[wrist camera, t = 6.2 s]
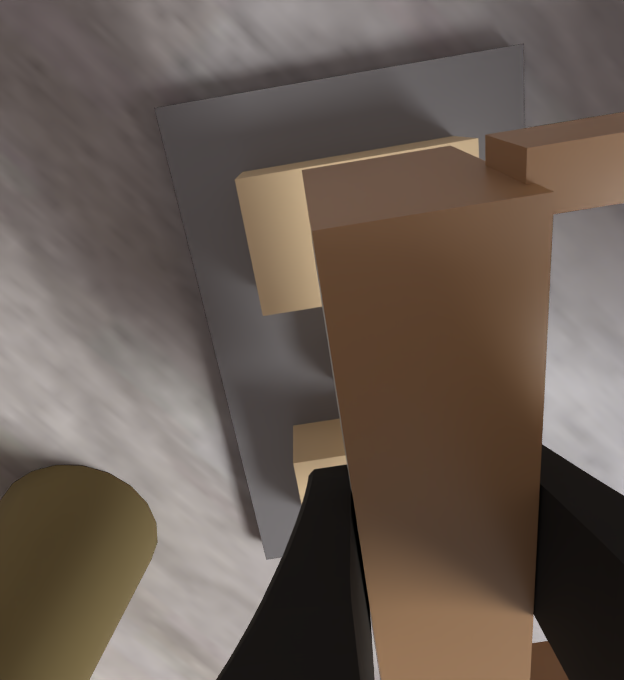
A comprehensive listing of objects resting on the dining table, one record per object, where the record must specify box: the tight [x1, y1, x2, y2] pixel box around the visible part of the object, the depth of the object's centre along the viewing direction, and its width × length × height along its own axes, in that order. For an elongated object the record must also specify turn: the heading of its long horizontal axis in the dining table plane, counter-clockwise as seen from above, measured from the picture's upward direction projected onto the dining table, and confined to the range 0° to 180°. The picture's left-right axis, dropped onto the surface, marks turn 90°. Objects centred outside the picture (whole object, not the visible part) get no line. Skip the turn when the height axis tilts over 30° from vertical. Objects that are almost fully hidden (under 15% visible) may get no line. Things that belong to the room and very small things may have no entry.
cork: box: [0, 465, 157, 680], centre depth 16 cm, size 6×6×11 cm
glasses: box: [302, 112, 624, 680], centre depth 10 cm, size 5×12×4 cm, turn 9°
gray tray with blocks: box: [154, 44, 525, 560], centre depth 17 cm, size 10×16×3 cm, turn 9°
